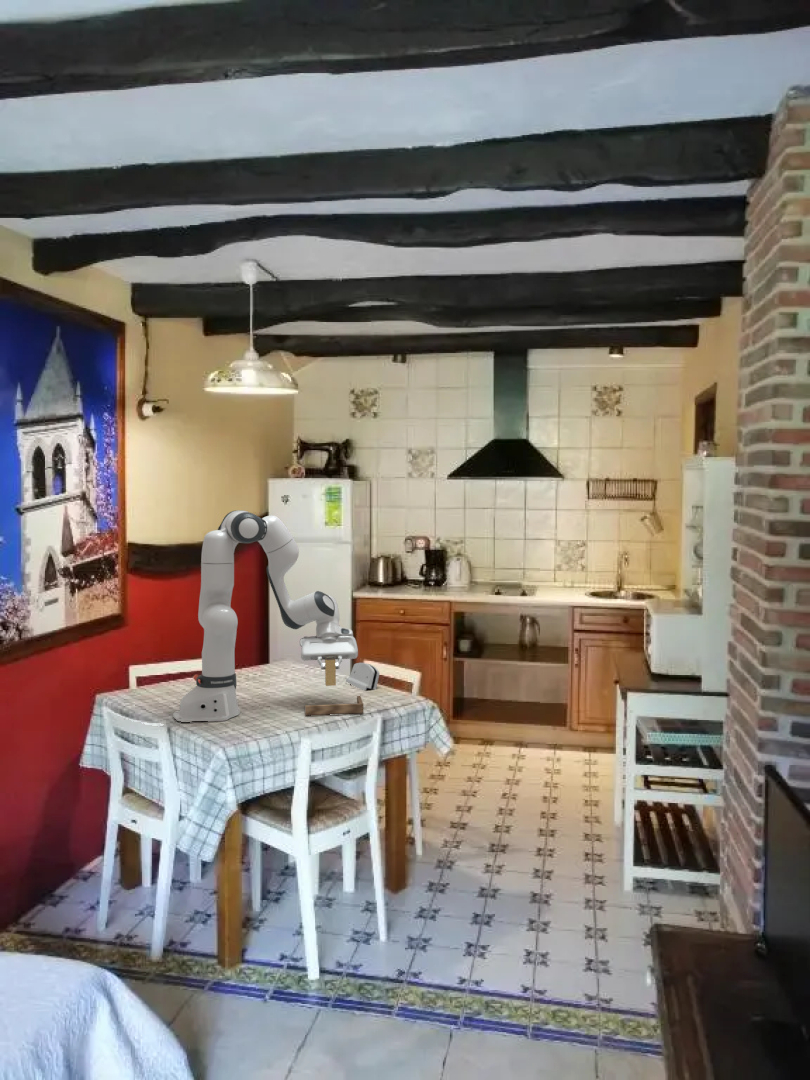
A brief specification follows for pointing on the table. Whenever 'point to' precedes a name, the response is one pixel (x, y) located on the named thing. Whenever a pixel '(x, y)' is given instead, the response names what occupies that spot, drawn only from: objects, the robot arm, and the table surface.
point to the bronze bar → (330, 670)
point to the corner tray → (335, 708)
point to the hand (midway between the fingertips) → (330, 668)
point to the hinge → (364, 676)
